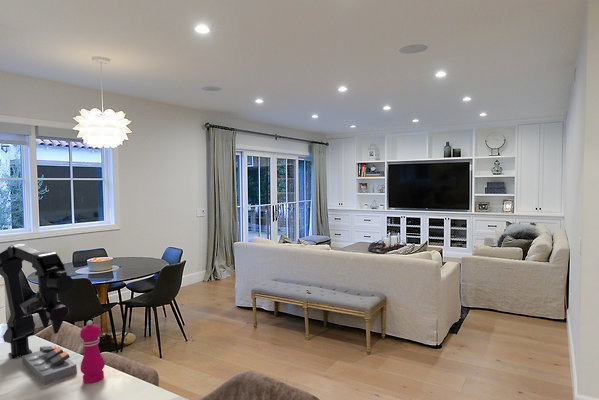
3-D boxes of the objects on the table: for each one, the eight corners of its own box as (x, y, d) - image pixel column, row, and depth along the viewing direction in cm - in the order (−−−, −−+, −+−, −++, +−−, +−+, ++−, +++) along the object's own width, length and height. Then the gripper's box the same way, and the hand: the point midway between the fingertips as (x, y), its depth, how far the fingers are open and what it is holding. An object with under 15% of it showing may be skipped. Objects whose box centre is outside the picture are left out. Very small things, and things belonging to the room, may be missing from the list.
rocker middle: (46, 360, 144) (43, 355, 144) (60, 352, 148) (58, 346, 147) (49, 363, 142) (47, 358, 141) (64, 354, 145) (62, 349, 145)
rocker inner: (39, 352, 148) (40, 346, 148) (53, 351, 152) (55, 345, 152) (42, 355, 145) (43, 349, 146) (57, 354, 149) (58, 348, 149)
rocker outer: (51, 365, 140) (49, 359, 140) (66, 356, 144) (64, 351, 143) (55, 368, 138) (53, 363, 137) (70, 359, 141) (68, 354, 141)
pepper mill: (95, 385, 130) (91, 324, 129) (76, 383, 132) (71, 324, 131) (110, 374, 137) (106, 317, 136) (91, 372, 139) (87, 316, 138)
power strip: (22, 364, 148) (22, 355, 147) (53, 354, 155) (52, 346, 155) (44, 384, 132) (43, 375, 131) (76, 373, 139) (76, 363, 139)
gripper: (12, 289, 144) (15, 331, 145) (32, 298, 132) (35, 344, 133) (47, 281, 153) (49, 322, 154) (68, 290, 141) (71, 333, 142)
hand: (50, 330), depth 146 cm, fingers open, 9 cm apart
